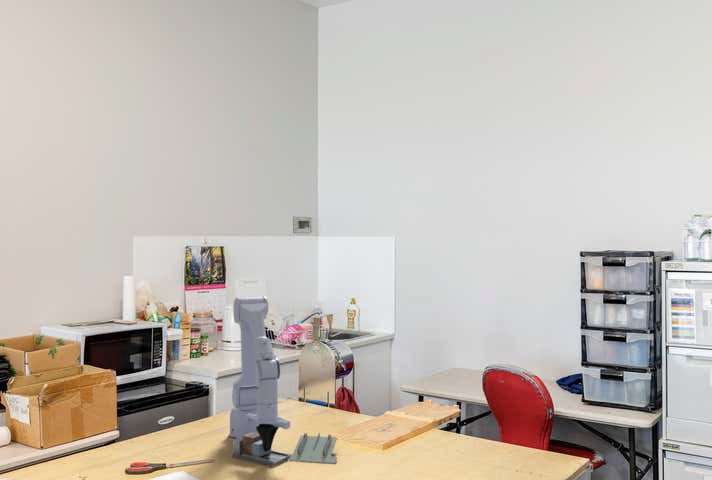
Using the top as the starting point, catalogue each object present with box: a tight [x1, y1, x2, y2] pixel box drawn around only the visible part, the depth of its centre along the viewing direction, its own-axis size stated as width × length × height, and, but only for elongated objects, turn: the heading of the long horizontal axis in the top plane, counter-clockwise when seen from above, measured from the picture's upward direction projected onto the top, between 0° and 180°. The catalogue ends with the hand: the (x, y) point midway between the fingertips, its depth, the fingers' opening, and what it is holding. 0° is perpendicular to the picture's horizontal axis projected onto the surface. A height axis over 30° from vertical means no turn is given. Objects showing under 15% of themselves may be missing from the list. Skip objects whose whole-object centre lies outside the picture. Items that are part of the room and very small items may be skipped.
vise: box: [231, 436, 290, 467], centre depth 191 cm, size 15×8×5 cm, turn 58°
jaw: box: [252, 440, 272, 457], centre depth 191 cm, size 3×5×4 cm, turn 148°
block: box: [242, 432, 261, 455], centre depth 192 cm, size 4×4×5 cm
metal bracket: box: [286, 432, 338, 465], centre depth 193 cm, size 14×6×15 cm
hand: (267, 450), depth 189 cm, fingers closed
